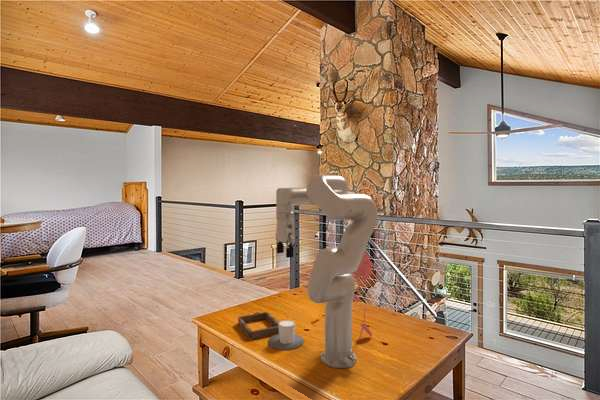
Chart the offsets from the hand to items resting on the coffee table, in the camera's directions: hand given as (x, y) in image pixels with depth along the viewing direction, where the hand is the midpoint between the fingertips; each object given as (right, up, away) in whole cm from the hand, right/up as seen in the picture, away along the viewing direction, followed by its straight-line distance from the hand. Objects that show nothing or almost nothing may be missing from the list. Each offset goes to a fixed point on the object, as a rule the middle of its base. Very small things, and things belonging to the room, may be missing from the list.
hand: (284, 255), depth 148 cm
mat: (+1, -32, -14) cm, 35 cm away
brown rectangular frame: (-11, -32, -1) cm, 34 cm away
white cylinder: (+1, -32, -14) cm, 35 cm away
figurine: (+32, -32, -5) cm, 46 cm away
